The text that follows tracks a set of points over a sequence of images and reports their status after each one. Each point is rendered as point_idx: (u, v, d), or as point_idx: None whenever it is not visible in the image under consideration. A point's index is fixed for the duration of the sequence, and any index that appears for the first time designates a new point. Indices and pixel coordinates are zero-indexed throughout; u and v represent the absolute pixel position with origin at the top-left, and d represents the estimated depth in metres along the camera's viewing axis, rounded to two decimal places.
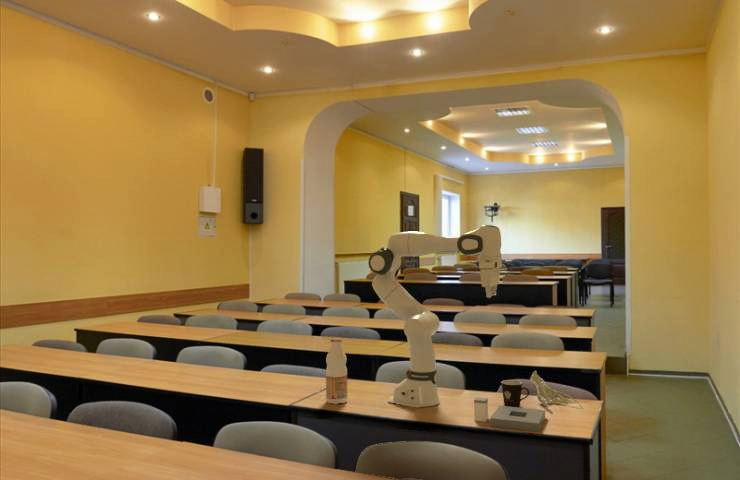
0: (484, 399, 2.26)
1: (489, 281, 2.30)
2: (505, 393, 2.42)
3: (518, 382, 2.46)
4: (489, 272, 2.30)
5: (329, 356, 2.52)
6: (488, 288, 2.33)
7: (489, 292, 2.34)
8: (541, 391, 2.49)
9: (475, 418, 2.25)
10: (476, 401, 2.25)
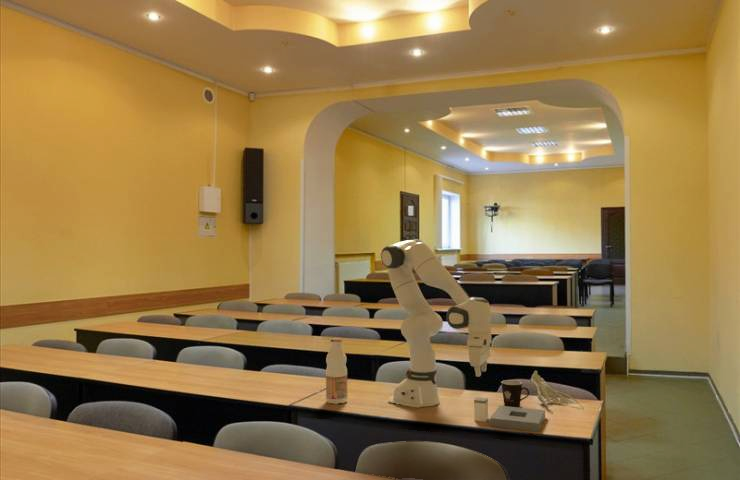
0: (484, 399, 2.26)
1: (478, 360, 2.17)
2: (505, 393, 2.42)
3: (518, 382, 2.46)
4: (477, 351, 2.17)
5: (329, 356, 2.52)
6: (477, 367, 2.20)
7: (478, 371, 2.21)
8: (542, 391, 2.49)
9: (475, 418, 2.25)
10: (476, 401, 2.25)
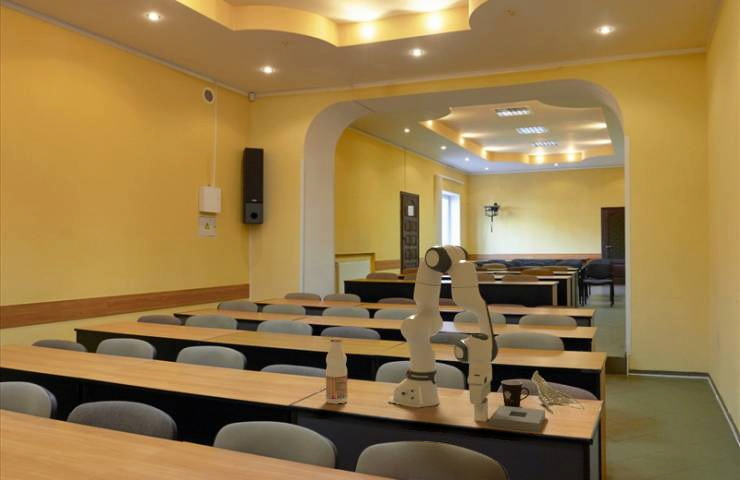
0: (484, 399, 2.26)
1: (478, 399, 2.17)
2: (505, 393, 2.42)
3: (518, 382, 2.46)
4: (478, 389, 2.17)
5: (329, 356, 2.52)
6: None
7: (479, 407, 2.23)
8: (542, 391, 2.49)
9: (475, 418, 2.25)
10: None
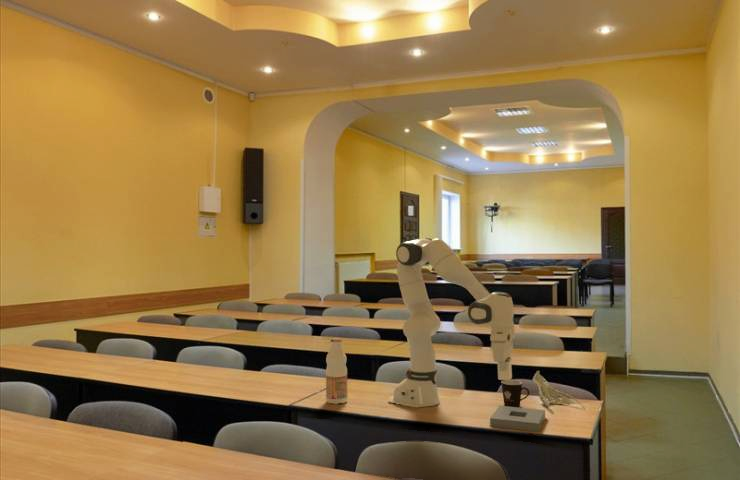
0: (507, 358, 2.23)
1: (502, 356, 2.14)
2: (505, 393, 2.42)
3: (518, 382, 2.46)
4: (501, 346, 2.14)
5: (329, 356, 2.52)
6: (502, 361, 2.19)
7: (503, 365, 2.20)
8: (543, 391, 2.49)
9: (499, 377, 2.22)
10: None
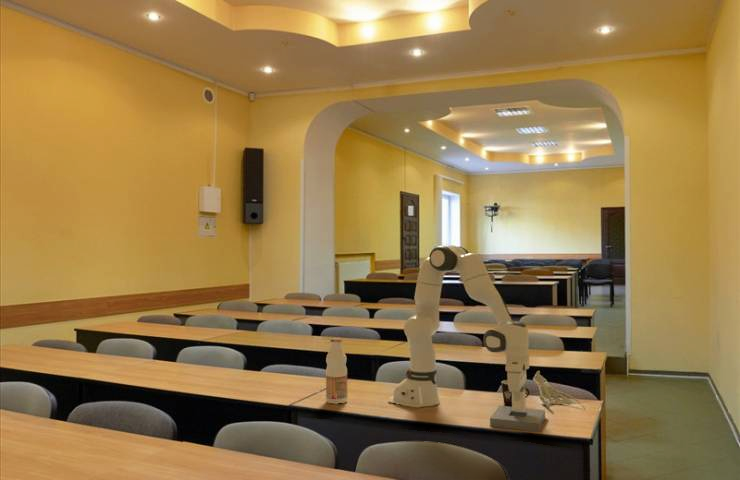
0: (522, 387, 2.22)
1: (517, 387, 2.13)
2: (505, 393, 2.42)
3: None
4: (516, 377, 2.13)
5: (329, 356, 2.52)
6: None
7: (517, 395, 2.19)
8: (544, 391, 2.49)
9: (513, 407, 2.21)
10: None
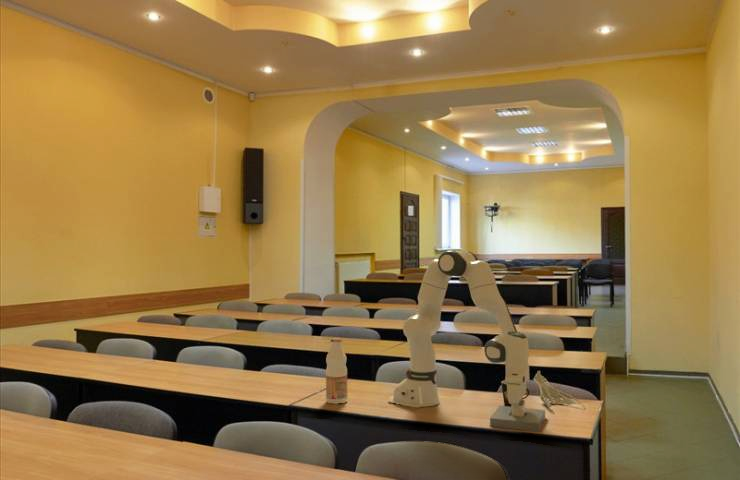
0: (521, 401, 2.22)
1: (517, 398, 2.13)
2: (505, 393, 2.42)
3: None
4: (516, 388, 2.13)
5: (329, 356, 2.52)
6: (516, 403, 2.17)
7: (517, 407, 2.18)
8: (544, 391, 2.49)
9: None
10: None
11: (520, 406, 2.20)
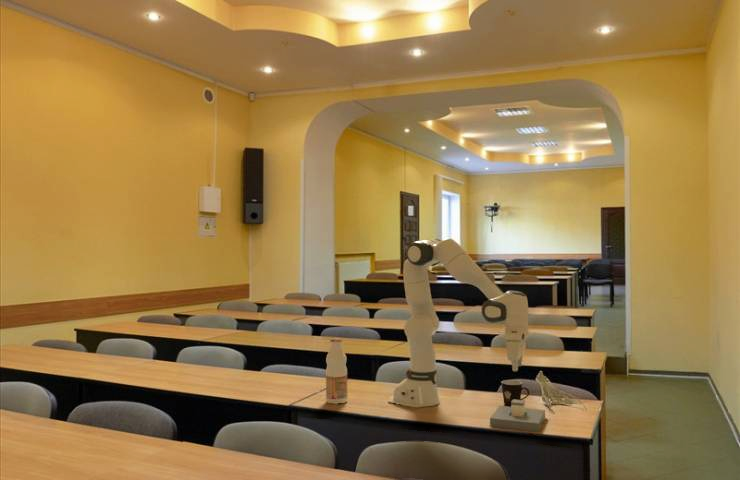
0: (521, 401, 2.22)
1: (516, 355, 2.13)
2: (505, 393, 2.42)
3: (518, 382, 2.46)
4: (516, 345, 2.14)
5: (329, 356, 2.52)
6: (515, 361, 2.17)
7: (515, 365, 2.17)
8: (546, 391, 2.49)
9: None
10: (513, 403, 2.21)
11: (520, 406, 2.20)
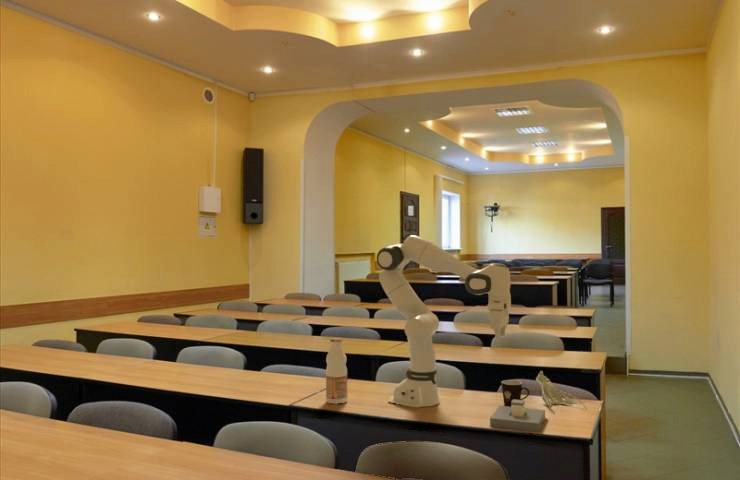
0: (521, 401, 2.22)
1: (498, 323, 2.24)
2: (505, 393, 2.42)
3: (518, 382, 2.46)
4: (498, 314, 2.24)
5: (329, 356, 2.52)
6: (497, 330, 2.27)
7: (498, 334, 2.28)
8: (546, 391, 2.49)
9: None
10: (513, 403, 2.21)
11: (520, 406, 2.20)
